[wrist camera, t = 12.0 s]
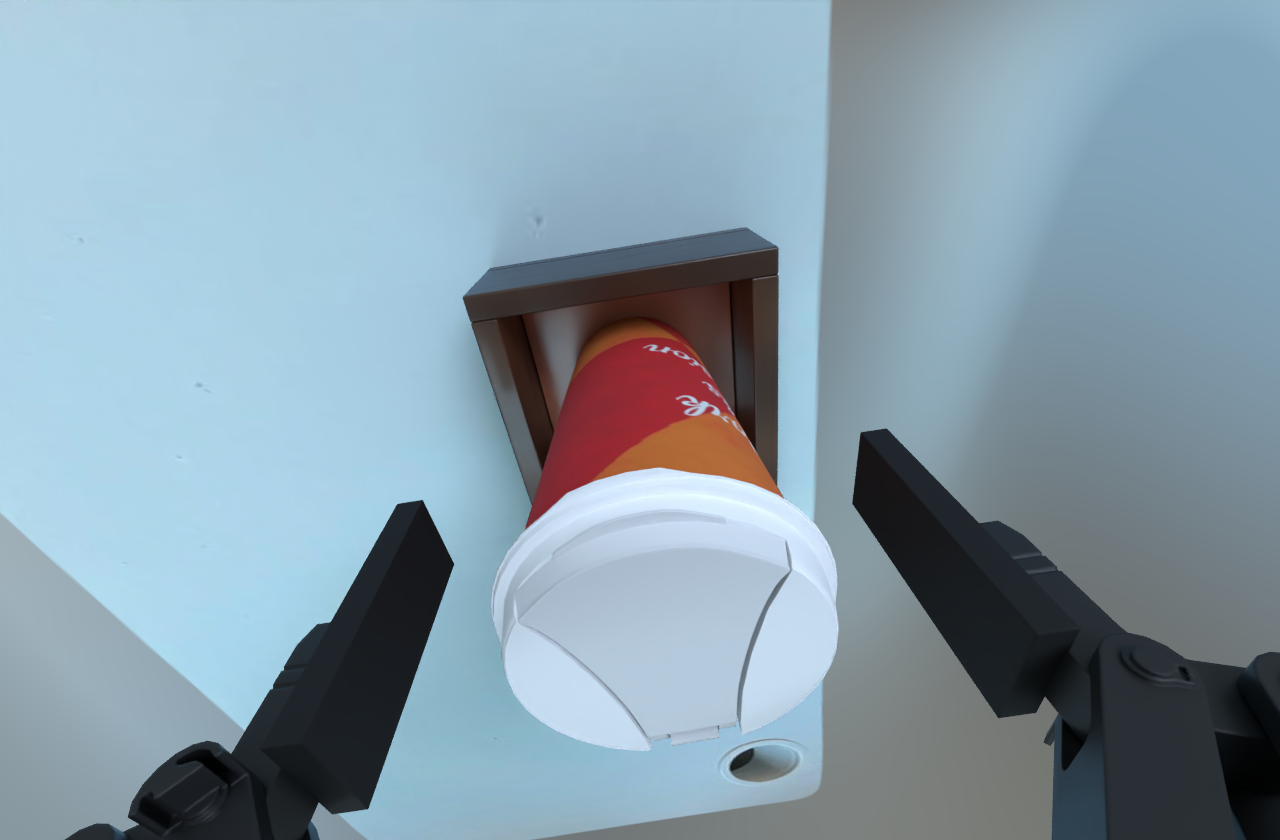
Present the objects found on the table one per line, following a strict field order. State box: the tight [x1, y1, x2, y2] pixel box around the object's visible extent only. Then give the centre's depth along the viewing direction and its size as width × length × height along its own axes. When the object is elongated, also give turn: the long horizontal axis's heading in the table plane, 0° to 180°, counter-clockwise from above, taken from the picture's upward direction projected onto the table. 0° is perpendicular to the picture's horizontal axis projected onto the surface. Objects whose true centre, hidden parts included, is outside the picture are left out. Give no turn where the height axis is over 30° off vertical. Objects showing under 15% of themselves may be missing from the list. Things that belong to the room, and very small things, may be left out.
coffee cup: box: [491, 317, 839, 751], centre depth 17 cm, size 8×8×15 cm
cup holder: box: [463, 227, 779, 505], centre depth 25 cm, size 22×12×5 cm, turn 8°
